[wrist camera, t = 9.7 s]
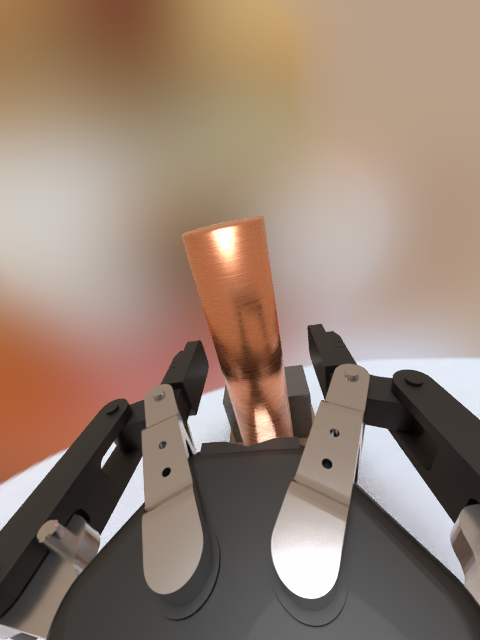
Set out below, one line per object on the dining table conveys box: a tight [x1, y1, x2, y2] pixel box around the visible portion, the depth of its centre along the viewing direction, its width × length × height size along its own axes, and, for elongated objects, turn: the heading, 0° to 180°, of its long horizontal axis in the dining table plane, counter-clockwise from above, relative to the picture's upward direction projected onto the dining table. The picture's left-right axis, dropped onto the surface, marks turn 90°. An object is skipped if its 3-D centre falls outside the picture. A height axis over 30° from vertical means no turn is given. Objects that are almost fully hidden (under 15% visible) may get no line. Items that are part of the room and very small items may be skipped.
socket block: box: [223, 365, 312, 442], centre depth 18 cm, size 6×3×4 cm, turn 87°
